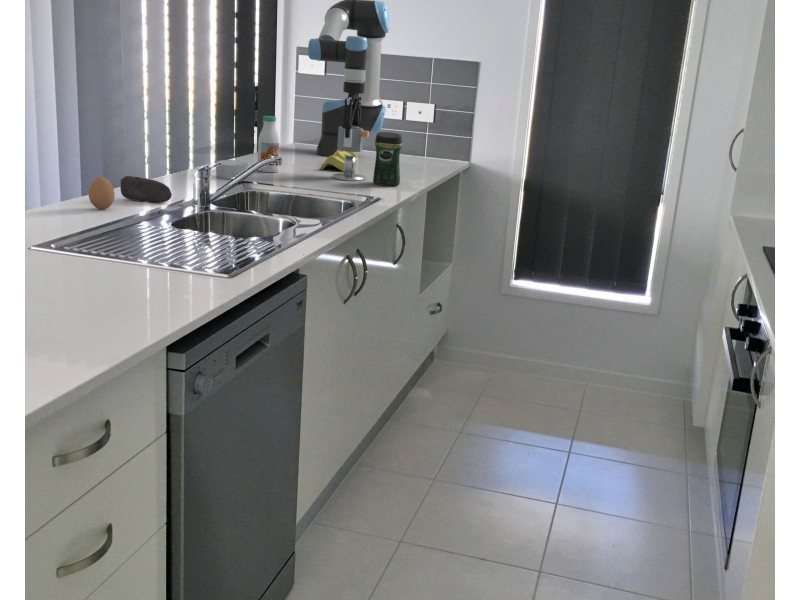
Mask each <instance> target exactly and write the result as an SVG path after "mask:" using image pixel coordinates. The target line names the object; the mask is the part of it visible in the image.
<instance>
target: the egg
mask: <svg viewBox="0 0 800 600" xmlns="http://www.w3.org/2000/svg"><path fill="white" fill-rule="evenodd" d="M115 198H116V197H115V189H114V186H113V185H112V183H111V182H110V180H109V179H107V178H106V177H103V176H100V177H99V176H98V177H96V178H95V179H93V181H92V182H91V183H90V186H89V187H88V199H89V201H90V202H89V203H91V204H92V205H93V206H94V207H95V208H96V209H97V210H106V208H107V209H108V208H109V207H111V206H112V205H113V203H114V201H115Z"/></svg>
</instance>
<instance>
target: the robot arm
mask: <svg viewBox="0 0 800 600" xmlns="http://www.w3.org/2000/svg"><path fill="white" fill-rule="evenodd" d="M390 26H391V25H390V11H389V6H388V4H387V3H386V2H384V1H378V0H341V1H338V2H336V3H334V4H333V5H331V7H329V8H328V10H327V11H326V13H325V14H324V24H323V26H322V29H321V32H320V33H319V36H318V37H317V38H311V39H309V41H308V44H307V45H308V46H307V55H308V58H309V59H310V60H313V61H318V62H319V61H320V62H321V61H322V62H331V63H332V62H333V63H334V62H335V63H336V62H337V63H344V70H343V71H342V73H343V80H344V81H343V93H345V94H346V93H347V94H348V95H347V98H344V99H332V100H331V99H330V100H326V101H324V102H323V104H322V111H321V113H322V114H321V116H322V117H321V136H320V137H319V141H318V143H317V146H316V154H317V155H319V156H324V157H329V156H333V155H334V153H335V152H336V151H337V146H338V128H339V127H342V128H344V146H343V147H351V143H352V129H351V128H352V127H358V128H362V129H363V130H364V131H369V134H377V133H379V132H382V128H383V124H384V120H385V113H386V108H387V107H386V106H385V105H383V100H382V99H381V98H380V84H381V83H380V82H381V62H382V57H381V56H382V42H383V40H384V39H385V38H386V36H387V35H386V34H387V33H389V32H390ZM345 30H349V31H350V30H351V31H356V36H354V35H348V36H346V39H345V40H340V39H341V37H342V34H343V32H344V31H345Z"/></svg>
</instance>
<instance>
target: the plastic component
mask: <svg viewBox="0 0 800 600" xmlns="http://www.w3.org/2000/svg"><path fill="white" fill-rule="evenodd" d="M345 156H355V157H356V160H355V164H356V163H357V161H358V159H359V156H358V155H357V154H356V152H346V151H340V150H337V151H336V152H335V153H334V155H333V156H327V158H326V160H325V161H324V163H322V164H321V167H320V168H319V169H320V170H324V169H325V168H326V167H327V166H329V165H332V166H333V167H335V168H337V169H339V170H340V171H341V172H344V160H345Z"/></svg>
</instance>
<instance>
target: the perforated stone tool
mask: <svg viewBox="0 0 800 600" xmlns="http://www.w3.org/2000/svg"><path fill="white" fill-rule="evenodd" d="M119 188H120V194H121V195H122V197H123V198H125V199H128V200H132V201H136V200H139V201H138V202H143V201H148V202H147V203H155V202H161V203H167V202H169V200H171V199H172V195H173V194H172V191H171V189H170V187H169V186H168V185H166V184H165V183H163V182H160V181H158V180H155V179H151V178H146V177H137V176H132V175H127V176H126V175H125V176H124V177H122V178H121V179H120V185H119Z"/></svg>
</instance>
